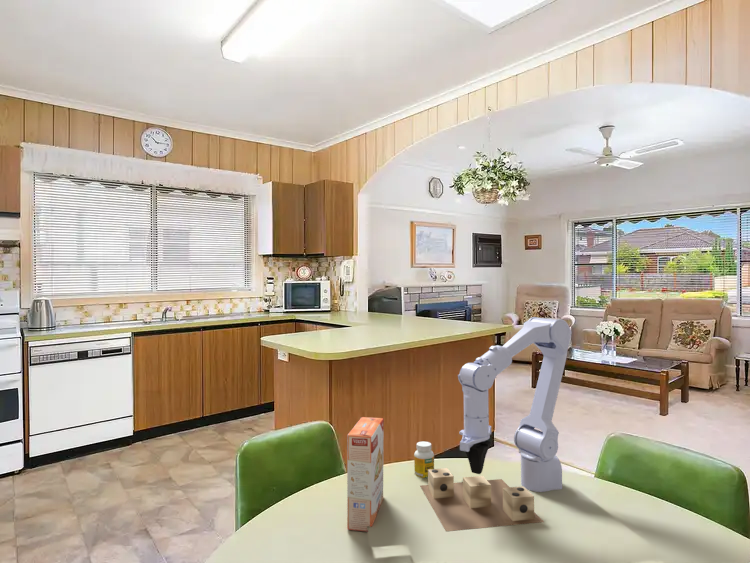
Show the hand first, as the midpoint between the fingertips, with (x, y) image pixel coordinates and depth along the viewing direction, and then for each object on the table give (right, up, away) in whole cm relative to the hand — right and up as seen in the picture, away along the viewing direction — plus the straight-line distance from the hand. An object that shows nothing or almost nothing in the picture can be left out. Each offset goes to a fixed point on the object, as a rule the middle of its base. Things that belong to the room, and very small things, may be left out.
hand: (476, 472), depth 111 cm
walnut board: (0, -9, 0) cm, 8 cm away
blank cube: (0, -7, 0) cm, 7 cm away
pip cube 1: (-8, -7, +5) cm, 12 cm away
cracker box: (-26, -9, -3) cm, 27 cm away
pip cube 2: (+8, -7, -6) cm, 12 cm away
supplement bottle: (-11, -9, +17) cm, 22 cm away
